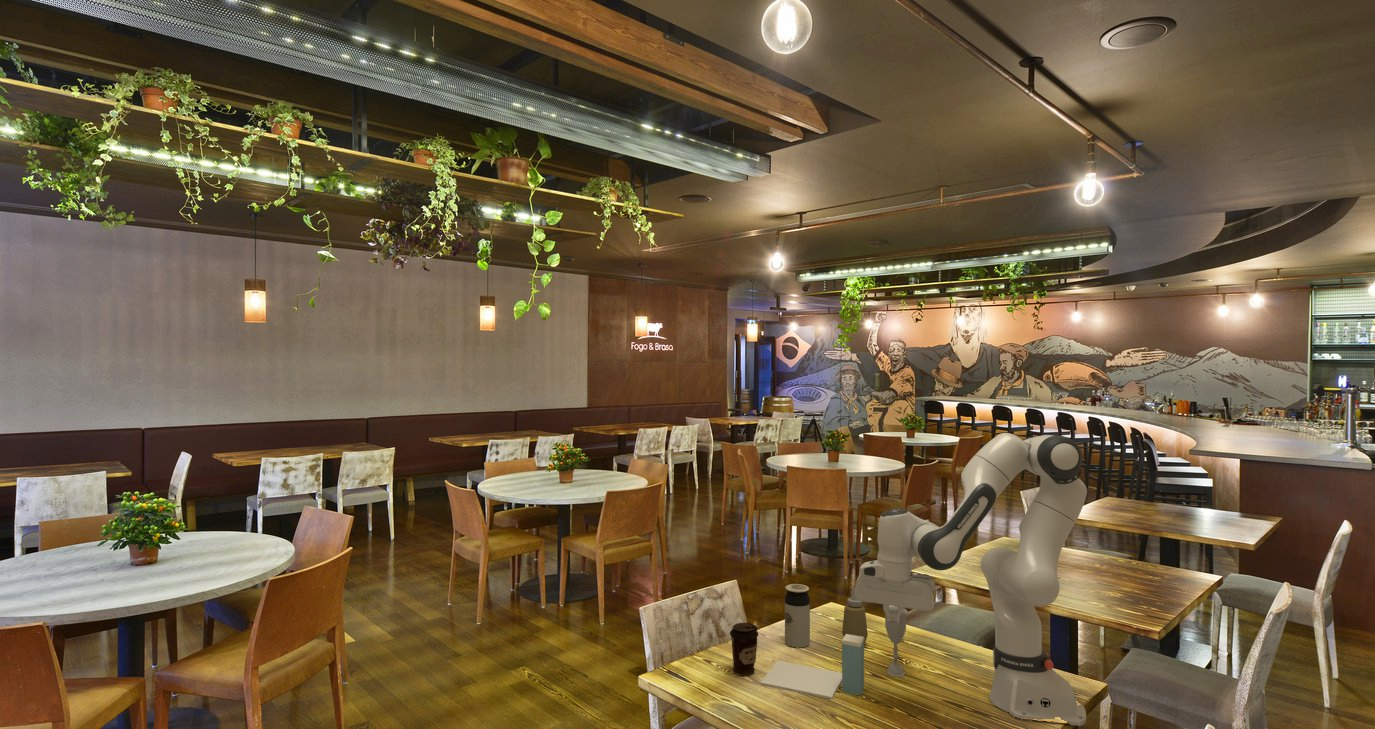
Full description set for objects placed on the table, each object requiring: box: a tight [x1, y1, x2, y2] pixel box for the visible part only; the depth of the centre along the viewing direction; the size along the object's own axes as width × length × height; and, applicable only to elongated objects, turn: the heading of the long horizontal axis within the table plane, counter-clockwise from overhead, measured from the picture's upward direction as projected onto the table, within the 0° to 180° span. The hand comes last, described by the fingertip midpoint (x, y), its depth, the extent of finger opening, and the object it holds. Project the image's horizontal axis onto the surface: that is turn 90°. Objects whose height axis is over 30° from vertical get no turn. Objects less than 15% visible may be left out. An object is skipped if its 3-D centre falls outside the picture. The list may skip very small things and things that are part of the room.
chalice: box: [883, 606, 909, 678], centre depth 197 cm, size 7×7×18 cm
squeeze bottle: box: [841, 587, 869, 646], centre depth 218 cm, size 8×8×18 cm
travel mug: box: [784, 583, 811, 649], centre depth 219 cm, size 8×8×18 cm
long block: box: [841, 634, 865, 696], centre depth 186 cm, size 5×5×14 cm
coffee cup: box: [729, 622, 759, 676], centre depth 198 cm, size 9×8×13 cm
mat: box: [760, 660, 842, 700], centre depth 192 cm, size 20×16×1 cm
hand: (893, 621), depth 182 cm, fingers closed
